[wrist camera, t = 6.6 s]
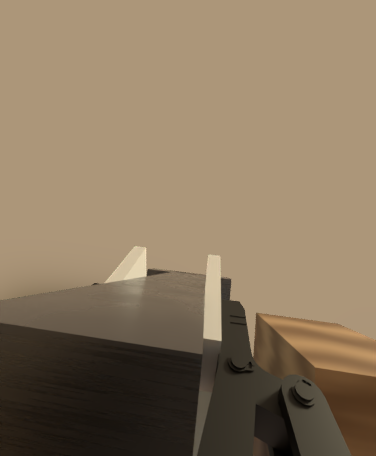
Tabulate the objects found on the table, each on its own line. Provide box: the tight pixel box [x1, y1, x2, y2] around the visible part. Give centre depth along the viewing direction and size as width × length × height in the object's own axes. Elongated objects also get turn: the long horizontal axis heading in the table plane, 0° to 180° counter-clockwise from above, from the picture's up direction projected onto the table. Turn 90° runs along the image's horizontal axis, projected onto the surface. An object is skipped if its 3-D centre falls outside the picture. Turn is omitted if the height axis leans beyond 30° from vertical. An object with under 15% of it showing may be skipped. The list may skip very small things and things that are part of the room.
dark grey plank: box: [0, 269, 231, 456], centre depth 17 cm, size 28×10×4 cm, turn 175°
